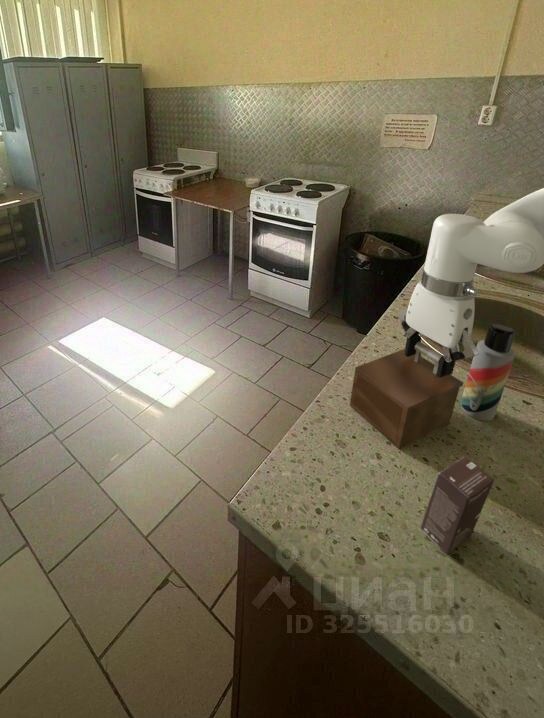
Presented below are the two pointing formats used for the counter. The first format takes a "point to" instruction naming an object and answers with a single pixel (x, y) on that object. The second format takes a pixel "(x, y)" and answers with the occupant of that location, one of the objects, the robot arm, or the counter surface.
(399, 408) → the chest
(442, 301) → the robot arm
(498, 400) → the lotion bottle
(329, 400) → the counter surface
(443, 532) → the box
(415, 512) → the counter surface
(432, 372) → the lid
